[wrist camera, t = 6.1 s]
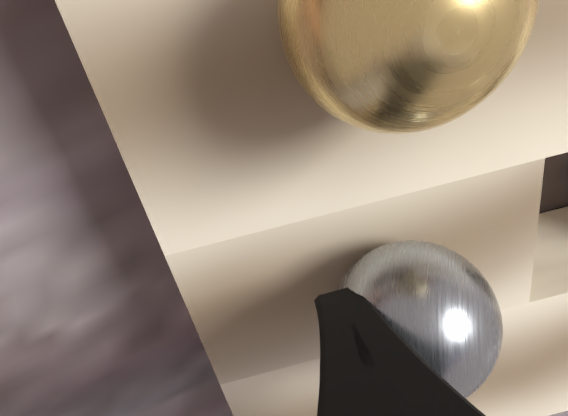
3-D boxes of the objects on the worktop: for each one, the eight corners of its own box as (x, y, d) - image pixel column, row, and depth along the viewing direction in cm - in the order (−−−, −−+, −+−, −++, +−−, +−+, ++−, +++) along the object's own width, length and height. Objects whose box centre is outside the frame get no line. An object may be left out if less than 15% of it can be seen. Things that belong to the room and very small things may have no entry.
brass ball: (460, 69, 9) (586, 137, 6) (286, 113, 9) (328, 203, 6) (460, -152, 7) (640, -209, 4) (241, -100, 7) (270, -121, 4)
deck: (636, 300, 19) (717, 369, 16) (255, 403, 19) (266, 492, 16) (792, -268, 10) (1041, -351, 7) (67, -97, 10) (7, -109, 7)
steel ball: (362, 318, 13) (501, 326, 12) (331, 432, 10) (509, 462, 9) (338, 212, 11) (497, 206, 10) (293, 315, 9) (504, 327, 7)
